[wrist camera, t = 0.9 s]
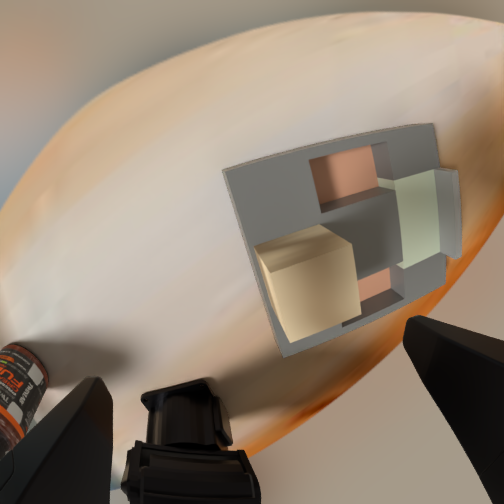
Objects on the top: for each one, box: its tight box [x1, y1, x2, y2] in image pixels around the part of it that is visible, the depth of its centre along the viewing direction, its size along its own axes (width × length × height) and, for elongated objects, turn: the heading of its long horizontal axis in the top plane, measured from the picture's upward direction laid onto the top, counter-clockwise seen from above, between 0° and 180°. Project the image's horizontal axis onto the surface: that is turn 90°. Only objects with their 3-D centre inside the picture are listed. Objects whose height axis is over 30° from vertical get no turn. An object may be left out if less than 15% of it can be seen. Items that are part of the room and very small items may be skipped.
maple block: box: [253, 224, 361, 343], centre depth 17 cm, size 4×4×4 cm
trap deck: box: [222, 123, 462, 358], centre depth 20 cm, size 16×14×4 cm
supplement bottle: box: [0, 345, 48, 460], centre depth 15 cm, size 6×6×11 cm
